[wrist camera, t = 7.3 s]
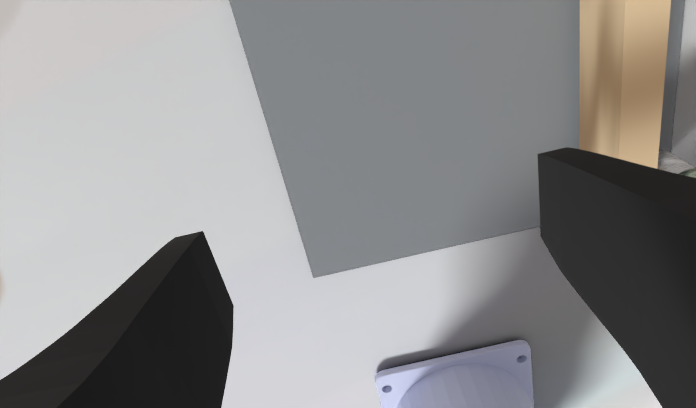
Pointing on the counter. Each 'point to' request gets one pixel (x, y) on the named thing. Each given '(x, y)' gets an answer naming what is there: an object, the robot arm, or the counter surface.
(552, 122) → the mat
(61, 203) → the counter surface
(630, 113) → the gate
